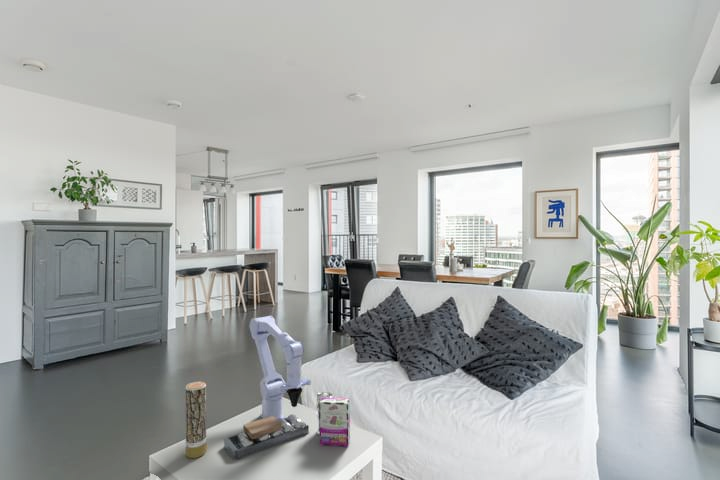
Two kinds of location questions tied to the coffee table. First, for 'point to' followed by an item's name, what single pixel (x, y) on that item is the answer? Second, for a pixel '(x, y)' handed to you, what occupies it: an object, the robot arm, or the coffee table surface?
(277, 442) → the roller bed
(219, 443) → the coffee table surface
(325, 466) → the coffee table surface
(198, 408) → the paper tube
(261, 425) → the slab
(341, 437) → the candy bar box
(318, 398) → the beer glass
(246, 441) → the roller
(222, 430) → the coffee table surface
